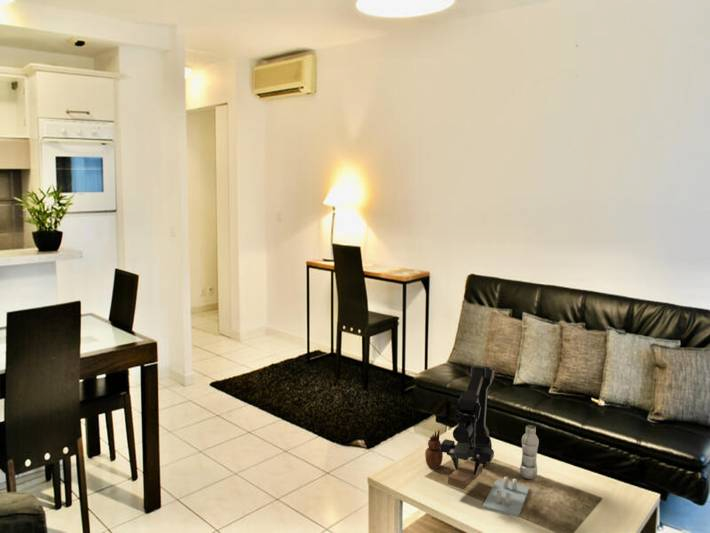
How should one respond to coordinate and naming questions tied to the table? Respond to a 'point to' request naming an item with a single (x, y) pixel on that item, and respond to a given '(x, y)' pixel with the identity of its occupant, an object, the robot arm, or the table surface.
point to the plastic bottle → (529, 453)
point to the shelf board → (464, 474)
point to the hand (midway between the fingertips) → (465, 472)
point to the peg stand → (506, 497)
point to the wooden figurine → (434, 452)
